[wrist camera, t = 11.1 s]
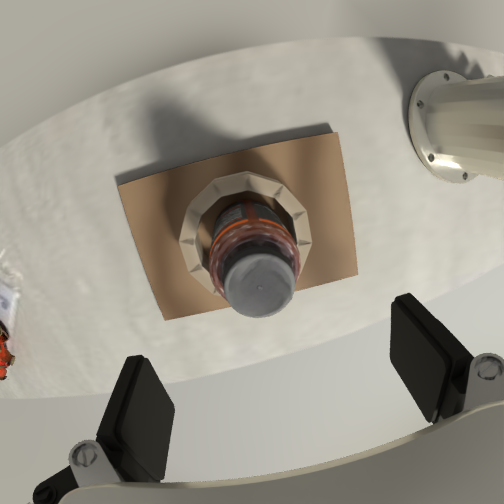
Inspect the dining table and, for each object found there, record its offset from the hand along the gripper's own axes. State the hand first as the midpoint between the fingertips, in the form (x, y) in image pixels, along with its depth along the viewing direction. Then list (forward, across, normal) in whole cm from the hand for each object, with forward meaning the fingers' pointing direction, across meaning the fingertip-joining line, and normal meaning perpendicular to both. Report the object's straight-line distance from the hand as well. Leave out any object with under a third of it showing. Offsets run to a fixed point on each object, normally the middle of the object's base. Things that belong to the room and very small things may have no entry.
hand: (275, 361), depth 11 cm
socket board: (+19, +1, 0) cm, 19 cm away
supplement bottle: (+18, 0, 0) cm, 18 cm away
